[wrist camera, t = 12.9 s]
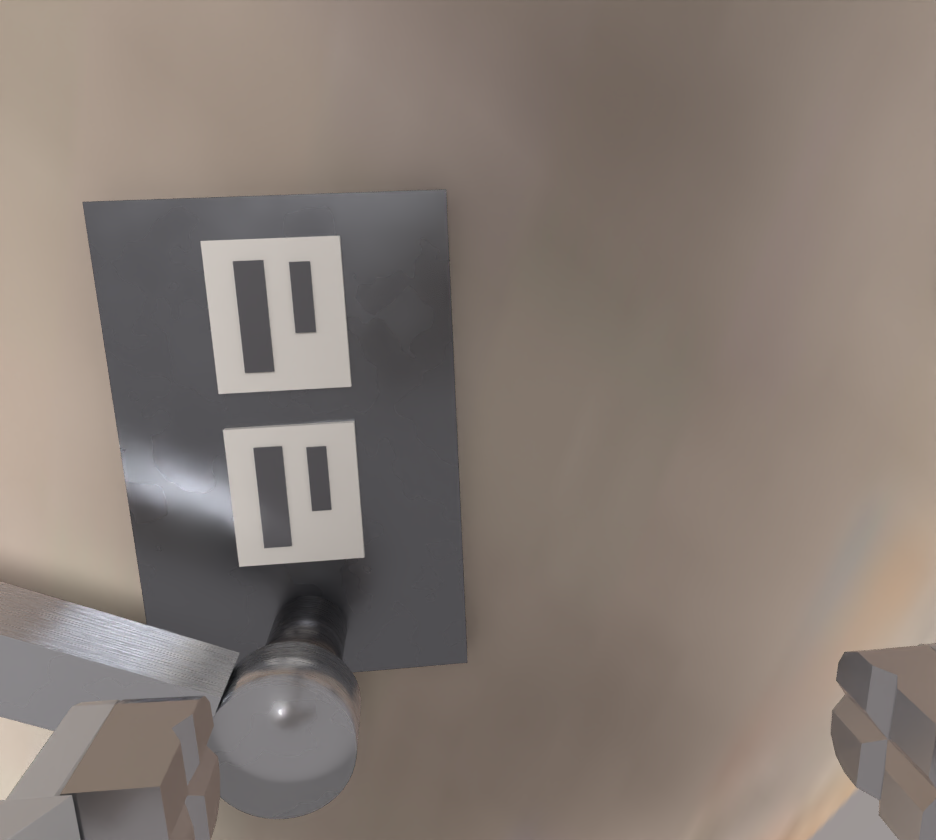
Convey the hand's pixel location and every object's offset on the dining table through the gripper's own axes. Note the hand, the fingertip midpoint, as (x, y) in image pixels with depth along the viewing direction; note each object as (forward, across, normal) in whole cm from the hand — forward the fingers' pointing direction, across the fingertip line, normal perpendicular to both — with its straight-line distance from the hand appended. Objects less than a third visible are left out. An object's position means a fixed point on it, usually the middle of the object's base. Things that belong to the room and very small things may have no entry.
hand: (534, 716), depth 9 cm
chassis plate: (+19, +6, +2) cm, 20 cm away
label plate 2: (+18, +6, +3) cm, 19 cm away
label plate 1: (+18, +6, -3) cm, 19 cm away
